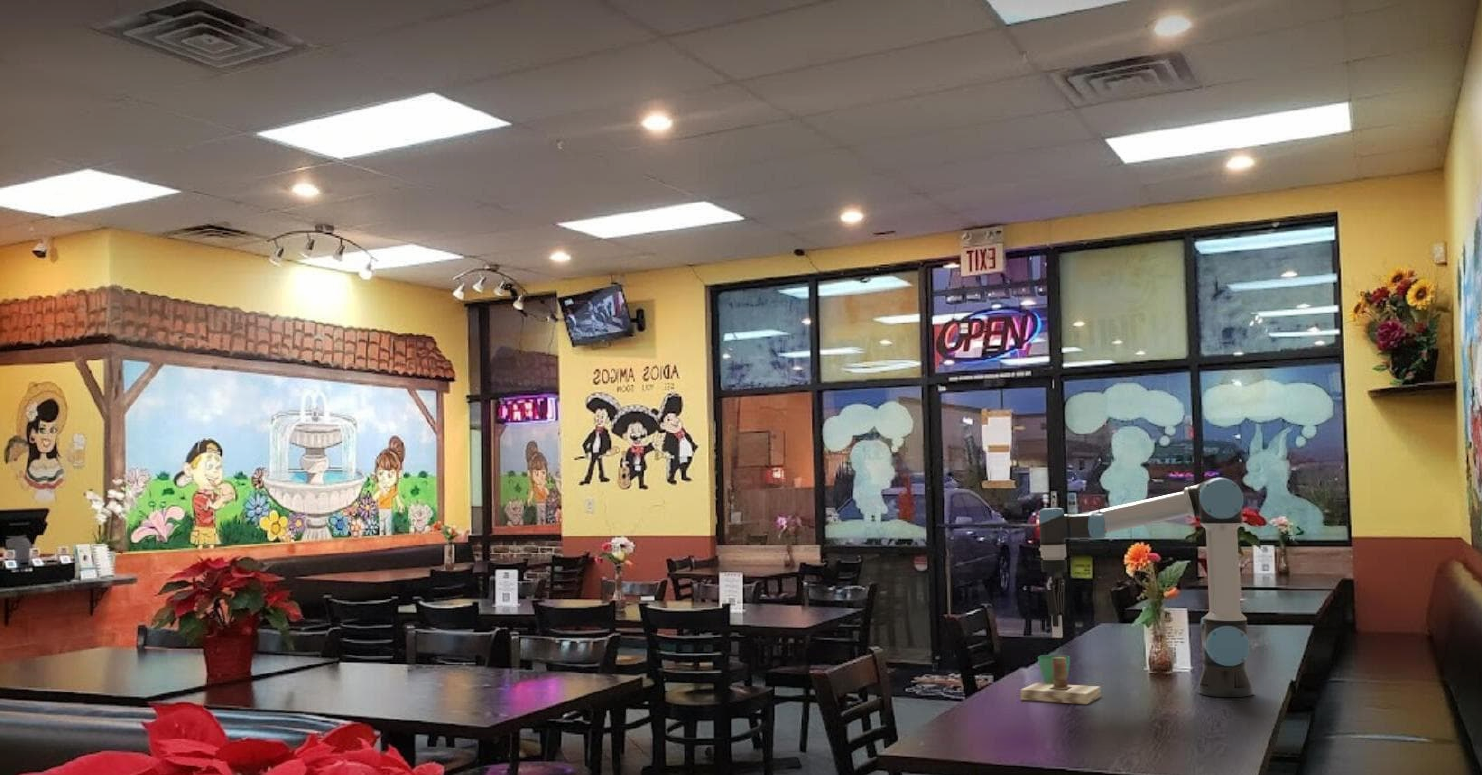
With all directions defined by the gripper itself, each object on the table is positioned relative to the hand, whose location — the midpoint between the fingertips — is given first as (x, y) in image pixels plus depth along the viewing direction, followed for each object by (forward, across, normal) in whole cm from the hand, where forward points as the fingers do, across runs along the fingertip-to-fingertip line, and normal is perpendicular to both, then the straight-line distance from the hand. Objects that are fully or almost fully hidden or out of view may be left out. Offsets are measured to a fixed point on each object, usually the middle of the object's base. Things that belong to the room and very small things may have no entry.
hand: (1057, 637), depth 364 cm
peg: (+18, 0, 0) cm, 18 cm away
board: (+18, 0, 0) cm, 18 cm away
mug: (+18, -18, -7) cm, 27 cm away
